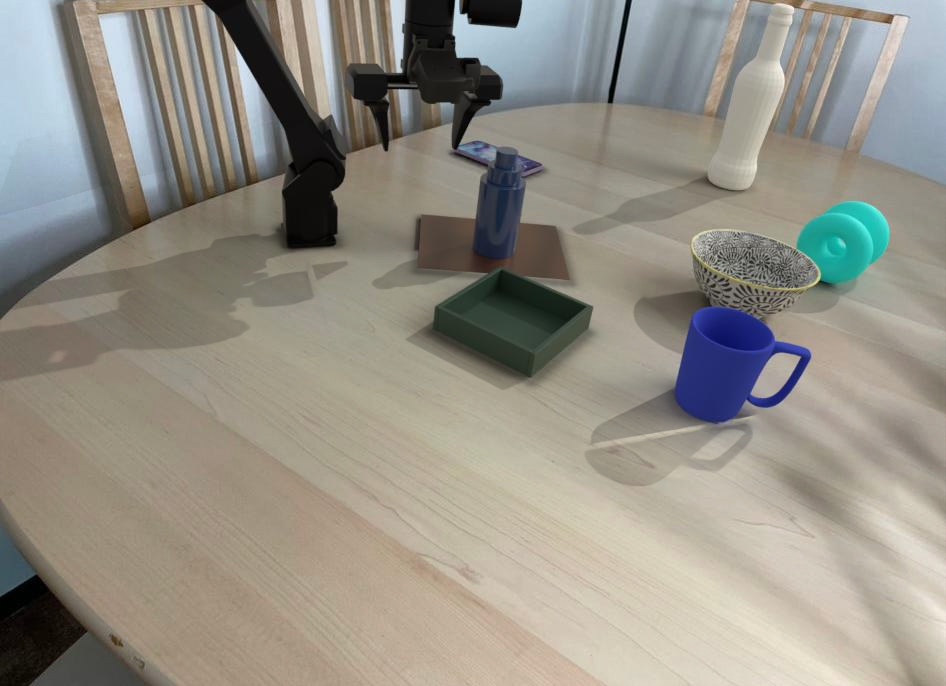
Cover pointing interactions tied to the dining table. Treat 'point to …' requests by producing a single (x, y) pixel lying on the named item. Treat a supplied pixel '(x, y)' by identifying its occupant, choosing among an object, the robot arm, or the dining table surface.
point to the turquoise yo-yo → (844, 240)
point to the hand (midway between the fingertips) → (420, 149)
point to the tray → (513, 320)
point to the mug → (729, 364)
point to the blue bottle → (499, 206)
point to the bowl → (750, 271)
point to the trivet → (452, 250)
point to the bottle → (752, 107)
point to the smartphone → (488, 153)
